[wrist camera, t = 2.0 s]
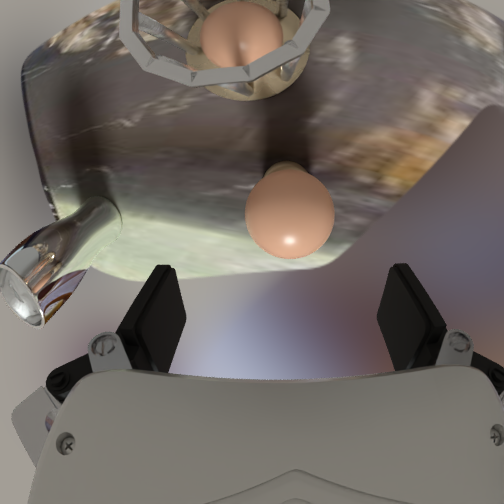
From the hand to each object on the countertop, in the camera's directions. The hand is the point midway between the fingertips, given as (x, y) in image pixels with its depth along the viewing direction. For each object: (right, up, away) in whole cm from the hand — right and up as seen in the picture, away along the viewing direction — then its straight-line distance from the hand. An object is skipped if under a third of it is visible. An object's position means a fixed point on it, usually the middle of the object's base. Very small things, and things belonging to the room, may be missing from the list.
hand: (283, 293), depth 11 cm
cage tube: (-2, +19, +7) cm, 21 cm away
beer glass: (-19, +6, +17) cm, 26 cm away
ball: (-2, +17, +3) cm, 18 cm away
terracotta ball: (+1, +4, +7) cm, 8 cm away
